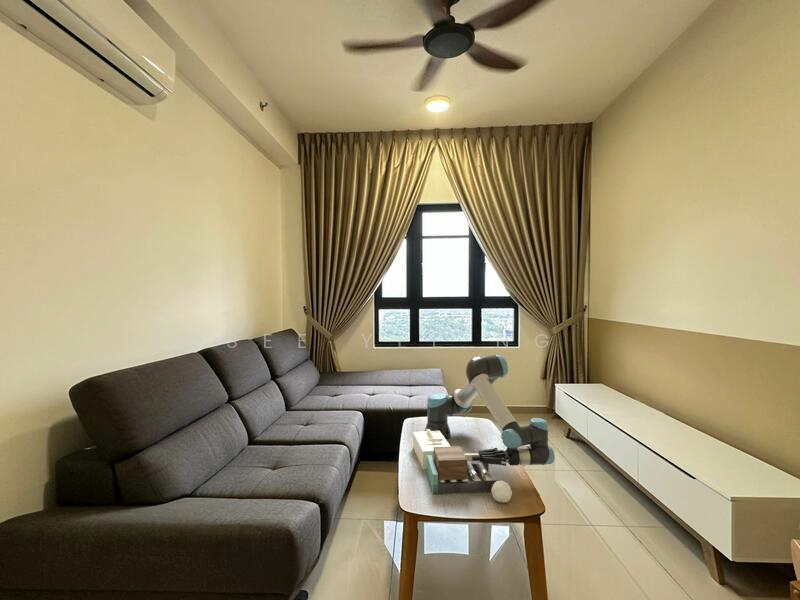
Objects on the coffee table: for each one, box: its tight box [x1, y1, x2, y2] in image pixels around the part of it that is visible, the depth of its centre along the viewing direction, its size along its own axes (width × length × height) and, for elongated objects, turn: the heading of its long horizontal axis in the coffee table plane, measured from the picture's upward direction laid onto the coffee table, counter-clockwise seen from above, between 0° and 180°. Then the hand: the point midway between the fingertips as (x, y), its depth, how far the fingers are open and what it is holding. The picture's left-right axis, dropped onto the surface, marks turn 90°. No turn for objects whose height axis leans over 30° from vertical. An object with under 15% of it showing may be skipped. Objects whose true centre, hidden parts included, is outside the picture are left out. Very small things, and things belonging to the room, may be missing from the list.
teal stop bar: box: [426, 455, 439, 495], centre depth 158 cm, size 19×2×8 cm, turn 3°
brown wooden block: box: [434, 445, 468, 481], centre depth 158 cm, size 14×12×8 cm
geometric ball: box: [490, 480, 513, 504], centre depth 143 cm, size 8×8×8 cm
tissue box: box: [412, 429, 451, 470], centre depth 184 cm, size 14×25×11 cm, turn 8°
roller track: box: [426, 461, 501, 495], centre depth 159 cm, size 19×28×4 cm, turn 93°
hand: (464, 457), depth 159 cm, fingers closed
